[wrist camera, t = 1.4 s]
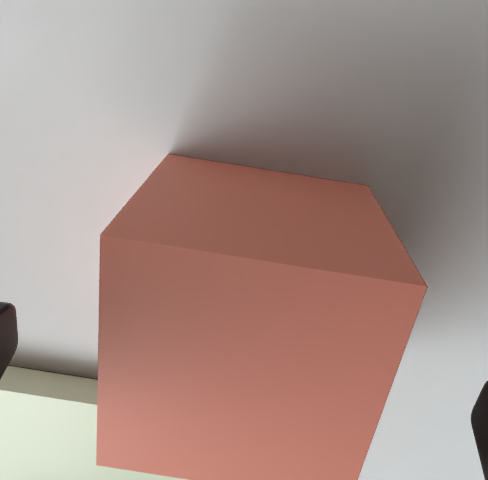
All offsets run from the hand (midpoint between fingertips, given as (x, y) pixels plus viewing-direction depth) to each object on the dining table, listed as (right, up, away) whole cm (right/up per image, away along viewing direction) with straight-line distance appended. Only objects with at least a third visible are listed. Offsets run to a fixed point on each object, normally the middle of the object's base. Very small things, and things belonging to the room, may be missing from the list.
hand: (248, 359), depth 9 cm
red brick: (0, +2, +4) cm, 4 cm away
